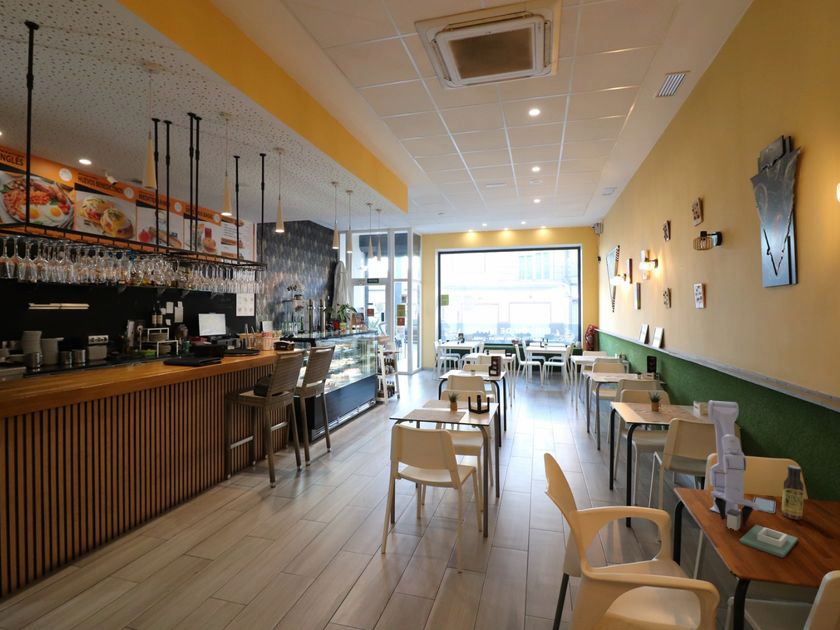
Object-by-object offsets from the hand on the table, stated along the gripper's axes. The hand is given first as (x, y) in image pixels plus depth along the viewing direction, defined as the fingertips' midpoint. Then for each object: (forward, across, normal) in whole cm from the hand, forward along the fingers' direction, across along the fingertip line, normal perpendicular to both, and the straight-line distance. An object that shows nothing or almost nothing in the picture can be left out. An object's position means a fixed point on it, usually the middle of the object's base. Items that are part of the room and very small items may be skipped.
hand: (733, 522), depth 162 cm
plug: (+2, 0, 0) cm, 2 cm away
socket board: (+2, +11, -2) cm, 11 cm away
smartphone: (+2, +1, +33) cm, 33 cm away
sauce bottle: (+2, +11, +29) cm, 31 cm away
